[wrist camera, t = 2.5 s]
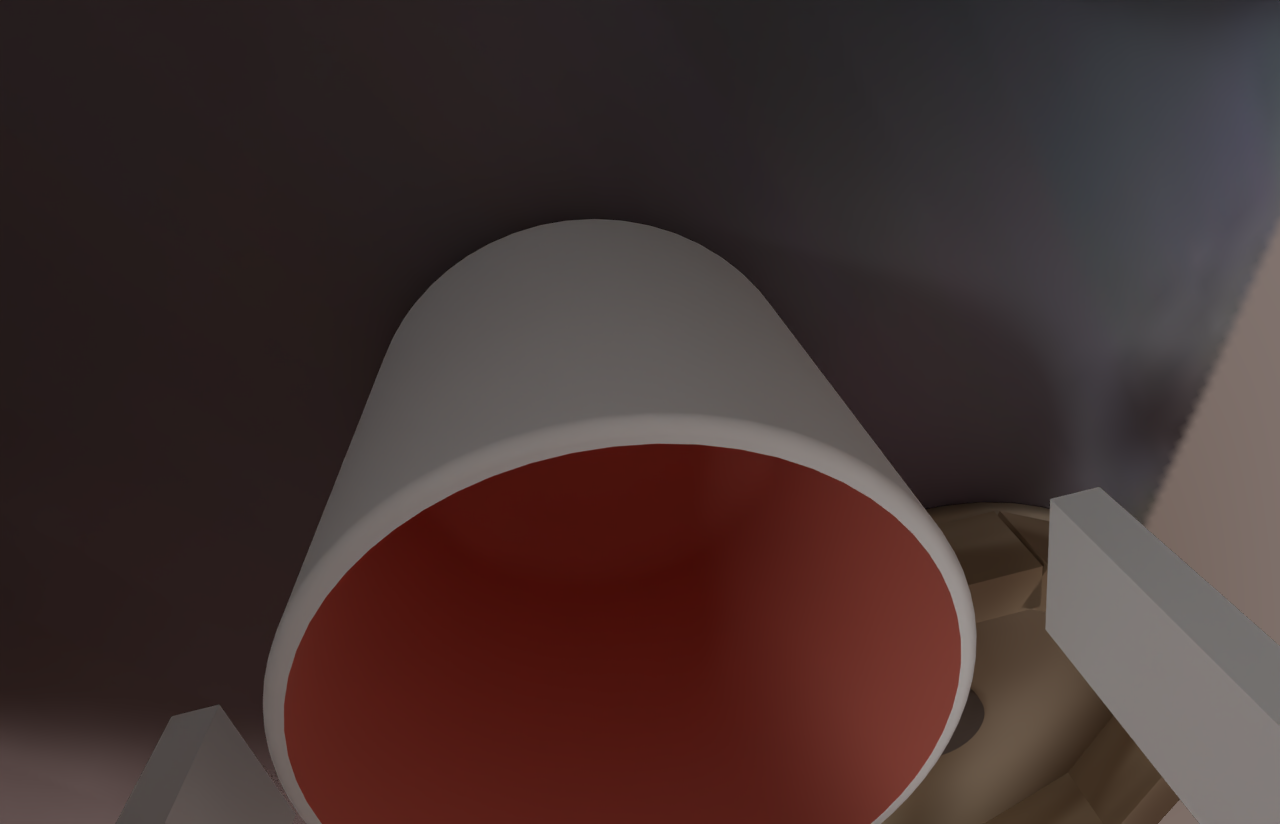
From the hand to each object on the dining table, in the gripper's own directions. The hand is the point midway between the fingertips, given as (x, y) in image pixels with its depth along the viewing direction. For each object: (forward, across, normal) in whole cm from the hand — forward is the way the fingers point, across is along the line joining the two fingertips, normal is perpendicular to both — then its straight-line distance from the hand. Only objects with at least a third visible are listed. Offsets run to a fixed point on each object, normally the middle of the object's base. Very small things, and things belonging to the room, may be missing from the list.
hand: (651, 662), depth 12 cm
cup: (+9, 0, 0) cm, 9 cm away
